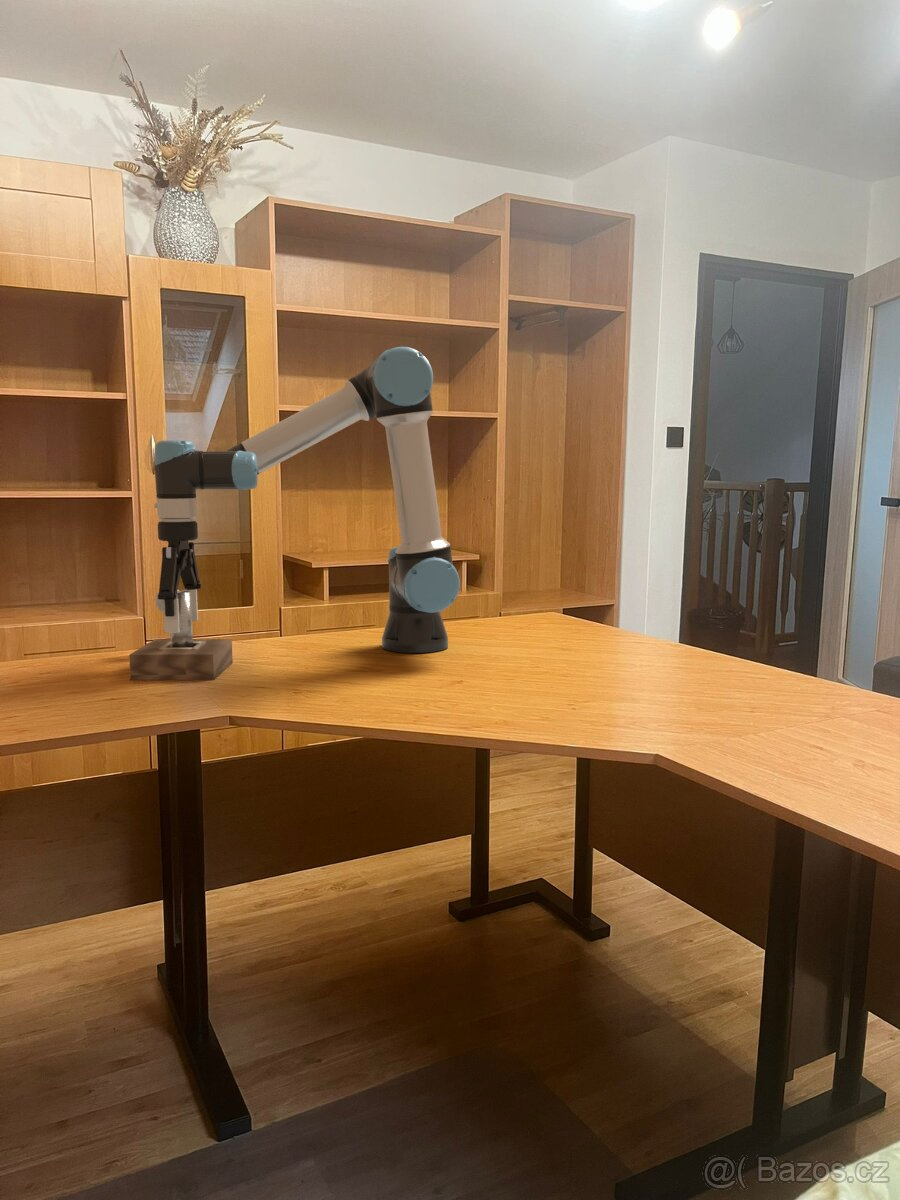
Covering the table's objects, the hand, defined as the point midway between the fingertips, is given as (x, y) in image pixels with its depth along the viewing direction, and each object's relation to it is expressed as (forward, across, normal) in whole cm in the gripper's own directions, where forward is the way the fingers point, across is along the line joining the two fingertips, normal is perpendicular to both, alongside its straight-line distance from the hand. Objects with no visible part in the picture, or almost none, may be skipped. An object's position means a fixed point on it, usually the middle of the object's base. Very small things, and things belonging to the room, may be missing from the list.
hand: (181, 626), depth 180 cm
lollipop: (+9, -16, -7) cm, 20 cm away
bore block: (+9, 0, 0) cm, 9 cm away
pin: (+8, 0, 0) cm, 8 cm away
